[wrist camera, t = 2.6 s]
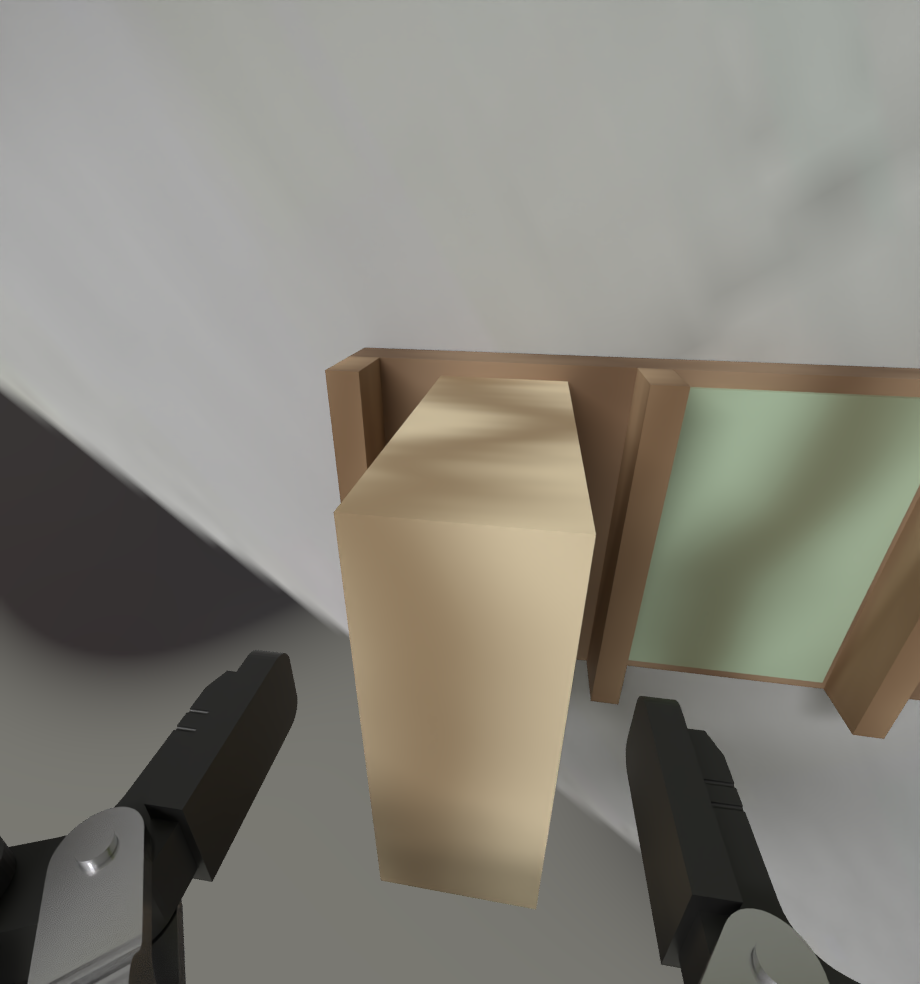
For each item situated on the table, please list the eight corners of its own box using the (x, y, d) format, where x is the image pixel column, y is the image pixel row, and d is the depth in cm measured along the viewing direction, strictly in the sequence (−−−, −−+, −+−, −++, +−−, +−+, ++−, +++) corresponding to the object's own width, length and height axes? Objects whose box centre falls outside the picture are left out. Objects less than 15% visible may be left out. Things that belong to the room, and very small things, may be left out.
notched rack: (1343, 384, 13) (1585, 426, 10) (1083, 690, 19) (1189, 778, 16) (364, 347, 17) (325, 370, 14) (386, 612, 22) (360, 671, 19)
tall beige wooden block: (572, 381, 15) (606, 535, 7) (542, 646, 20) (542, 910, 12) (436, 375, 15) (324, 511, 8) (440, 634, 20) (375, 879, 13)
